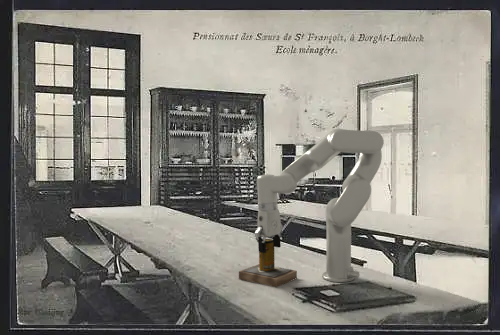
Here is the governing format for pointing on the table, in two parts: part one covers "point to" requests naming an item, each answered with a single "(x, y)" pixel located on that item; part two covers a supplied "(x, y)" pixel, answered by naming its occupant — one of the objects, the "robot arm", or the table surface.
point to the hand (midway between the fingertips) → (269, 249)
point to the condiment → (267, 258)
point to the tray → (268, 276)
